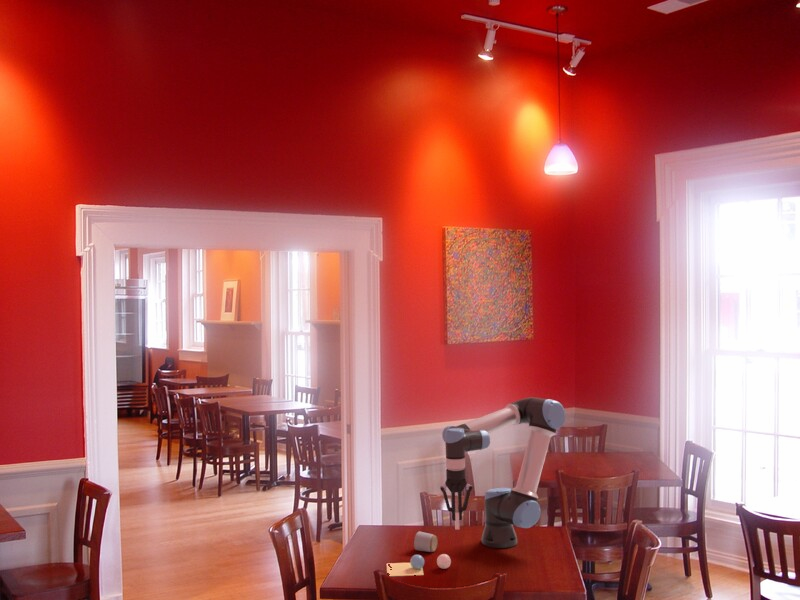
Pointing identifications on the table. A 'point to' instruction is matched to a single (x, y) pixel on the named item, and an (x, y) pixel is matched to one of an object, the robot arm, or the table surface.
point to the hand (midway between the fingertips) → (457, 528)
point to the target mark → (403, 570)
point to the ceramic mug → (425, 542)
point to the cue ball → (443, 561)
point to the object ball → (417, 561)
